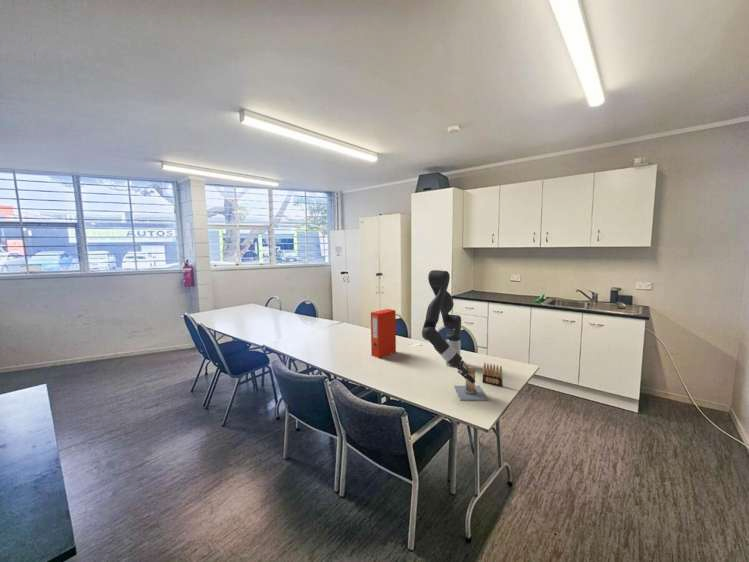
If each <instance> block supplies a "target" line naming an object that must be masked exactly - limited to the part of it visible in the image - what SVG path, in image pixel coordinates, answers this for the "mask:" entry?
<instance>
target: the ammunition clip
mask: <svg viewBox="0 0 749 562" xmlns="http://www.w3.org/2000/svg"><path fill="white" fill-rule="evenodd" d="M502 367H503V366H502V365H500V366H499V365H498V364H497V365H496V364H494V363H493V365H492V363H490V364H489V363H488V362H487V364H486V362H484V363H483V369H482V383H483V384H486V385H491V386H495V387H499V388H502V387H503V385H504V384H503V368H502Z"/></svg>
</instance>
